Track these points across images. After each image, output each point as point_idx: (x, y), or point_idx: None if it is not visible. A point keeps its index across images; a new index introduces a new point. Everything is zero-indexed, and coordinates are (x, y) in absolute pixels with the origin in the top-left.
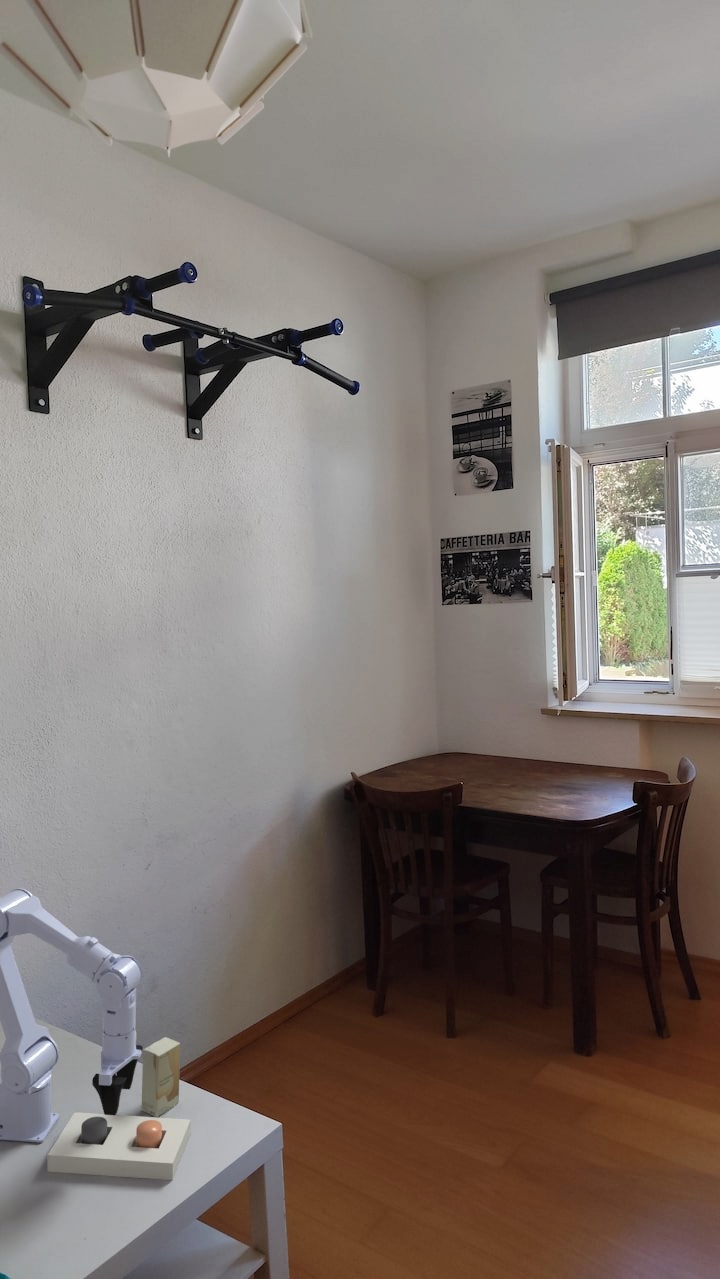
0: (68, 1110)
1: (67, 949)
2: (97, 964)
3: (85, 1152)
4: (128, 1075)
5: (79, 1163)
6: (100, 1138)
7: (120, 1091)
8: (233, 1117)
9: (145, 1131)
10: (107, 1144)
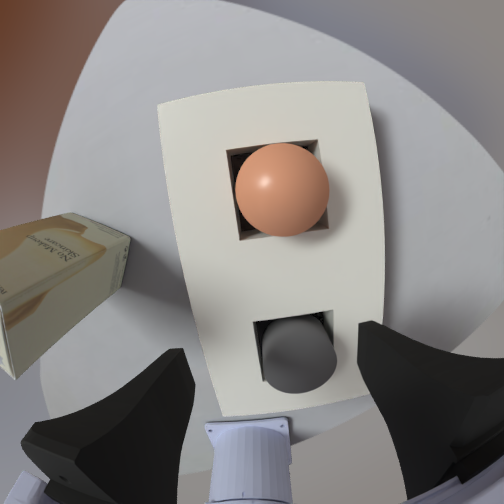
0: None
1: None
2: None
3: None
4: (164, 395)
5: None
6: (319, 327)
7: (449, 362)
8: (95, 64)
9: (307, 194)
10: (329, 299)
